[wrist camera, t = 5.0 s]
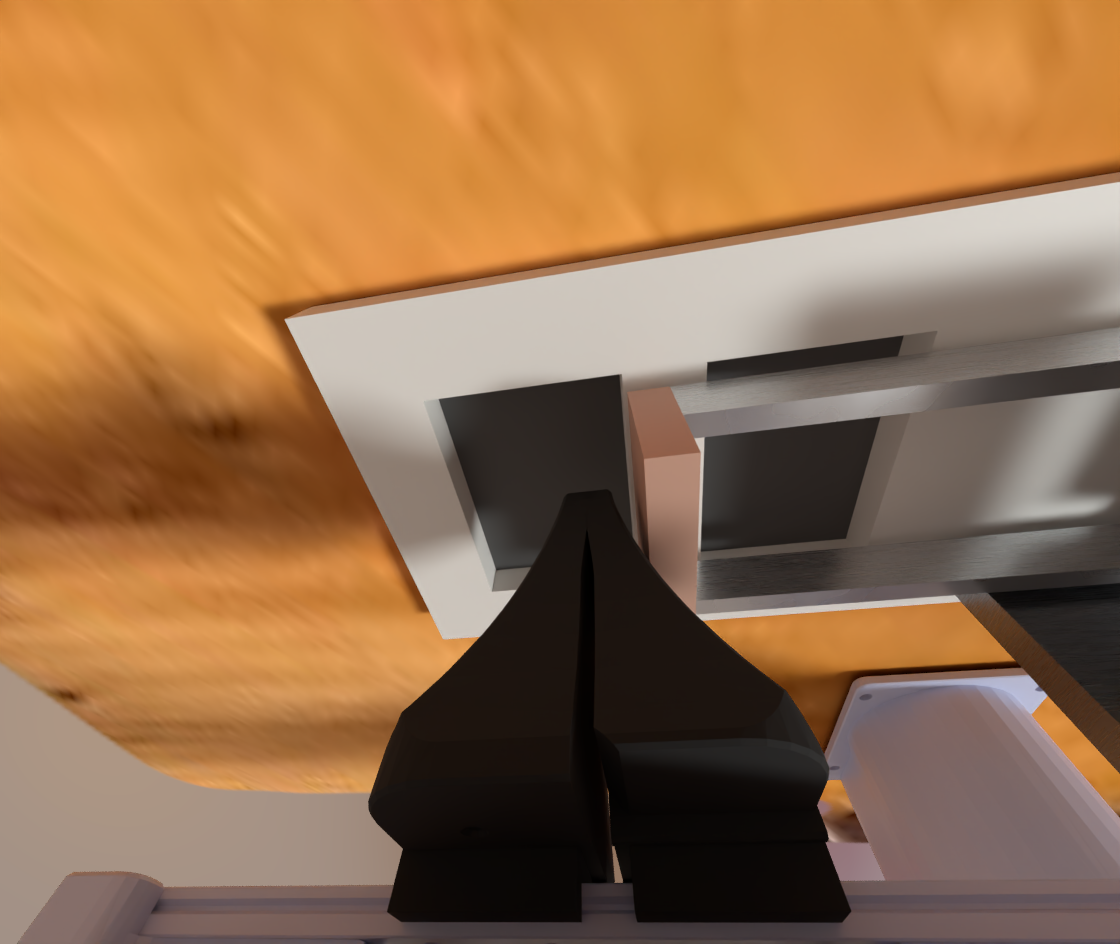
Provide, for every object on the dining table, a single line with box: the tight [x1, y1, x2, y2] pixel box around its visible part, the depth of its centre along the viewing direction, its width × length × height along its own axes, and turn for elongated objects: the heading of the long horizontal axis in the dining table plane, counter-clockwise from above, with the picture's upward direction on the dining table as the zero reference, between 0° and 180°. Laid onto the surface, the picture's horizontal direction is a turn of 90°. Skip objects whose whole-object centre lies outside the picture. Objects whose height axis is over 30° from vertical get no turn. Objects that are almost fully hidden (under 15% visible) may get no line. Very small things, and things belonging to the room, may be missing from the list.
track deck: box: [284, 172, 1120, 639], centre depth 12 cm, size 30×12×1 cm, turn 99°
